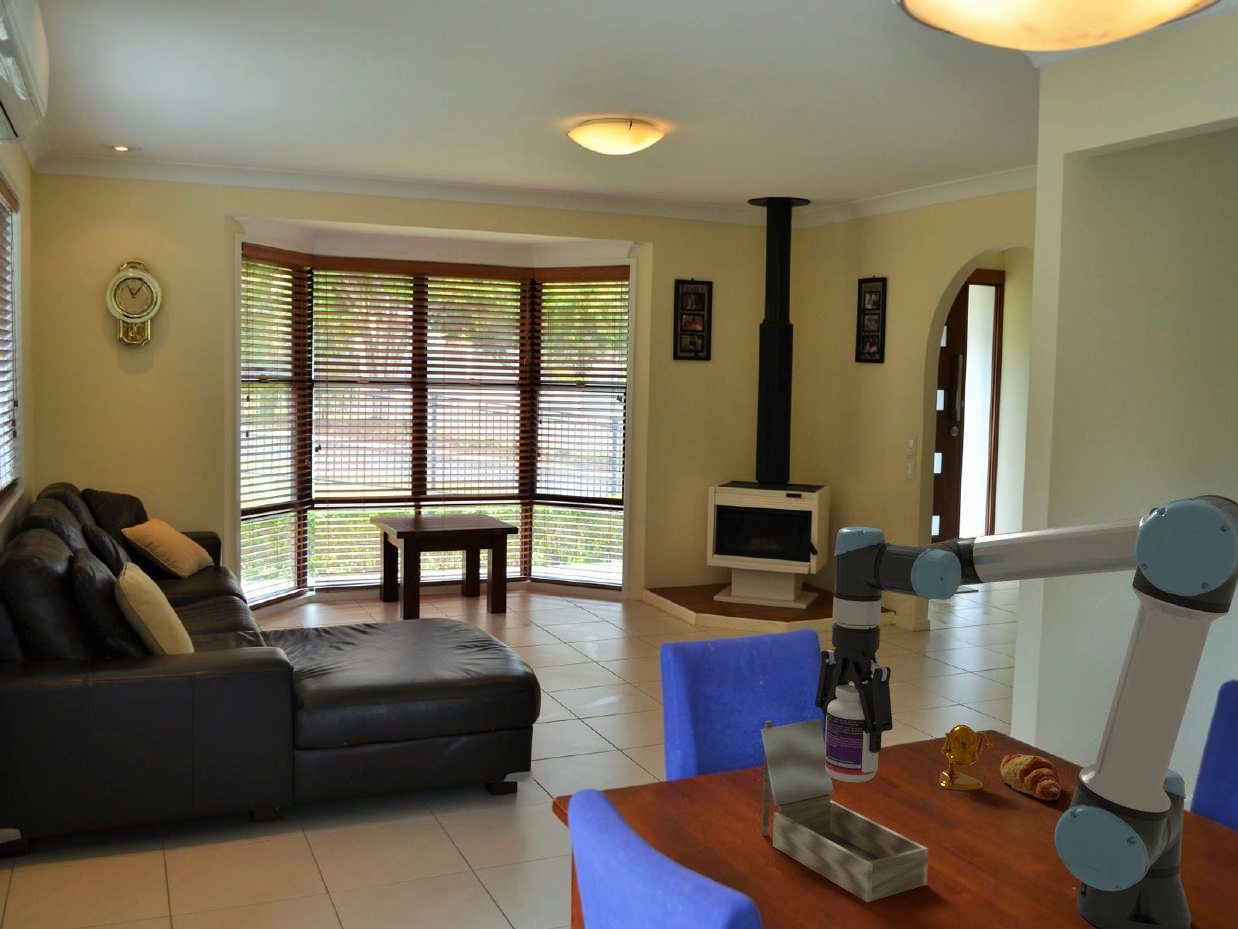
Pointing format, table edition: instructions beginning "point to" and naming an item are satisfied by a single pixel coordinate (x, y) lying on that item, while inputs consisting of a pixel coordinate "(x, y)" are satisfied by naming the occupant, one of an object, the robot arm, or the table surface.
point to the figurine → (961, 758)
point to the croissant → (1031, 776)
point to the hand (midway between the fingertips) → (850, 762)
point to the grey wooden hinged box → (830, 820)
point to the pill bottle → (846, 736)
